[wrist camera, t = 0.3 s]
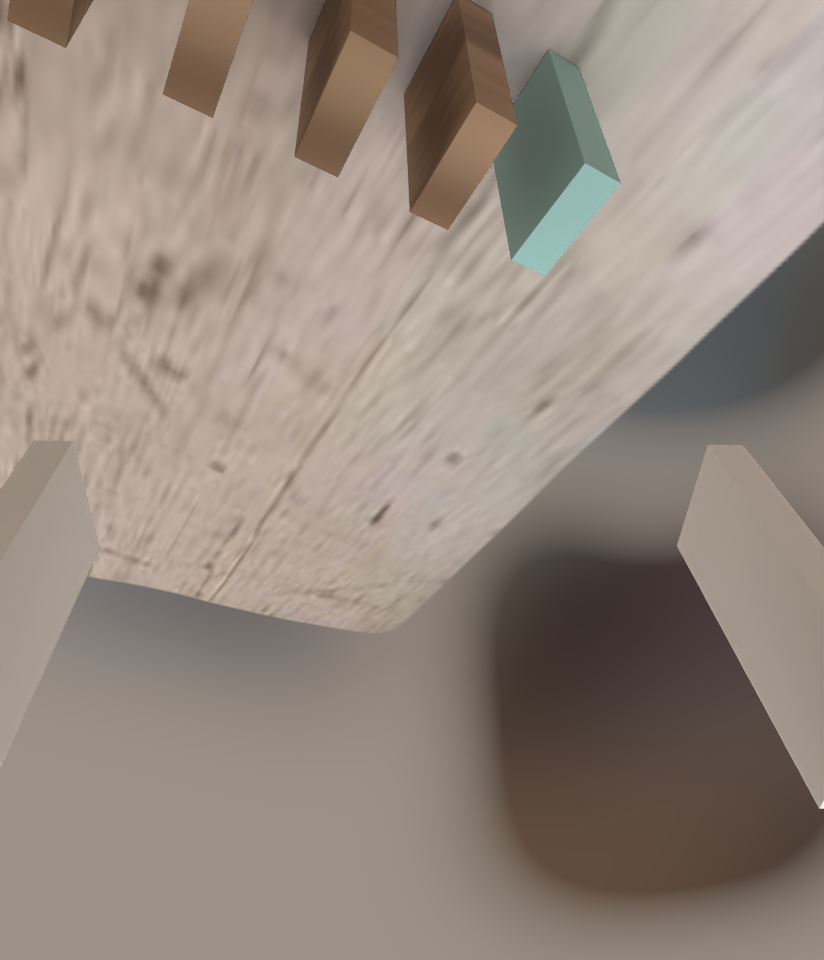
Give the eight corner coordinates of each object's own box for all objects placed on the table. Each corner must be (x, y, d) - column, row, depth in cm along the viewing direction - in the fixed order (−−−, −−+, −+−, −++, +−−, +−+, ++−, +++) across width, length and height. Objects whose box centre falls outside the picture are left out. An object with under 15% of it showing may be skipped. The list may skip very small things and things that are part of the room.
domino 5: (457, -8, 33) (476, 102, 27) (491, 13, 34) (517, 125, 28) (404, 94, 37) (409, 211, 31) (435, 111, 37) (447, 229, 31)
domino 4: (355, -72, 31) (350, 30, 25) (393, -48, 32) (398, 57, 26) (308, 42, 35) (294, 156, 29) (344, 61, 35) (338, 177, 29)
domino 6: (548, 49, 35) (584, 163, 29) (578, 68, 36) (620, 183, 30) (489, 140, 39) (511, 260, 33) (518, 156, 39) (544, 275, 33)
